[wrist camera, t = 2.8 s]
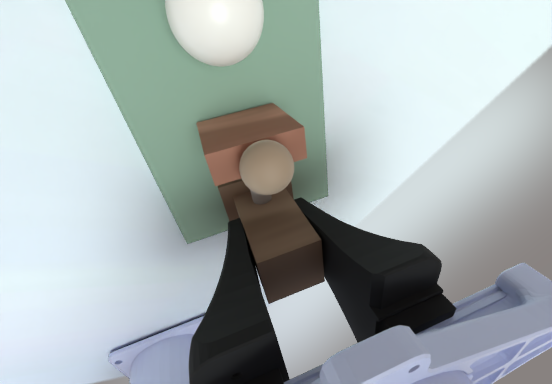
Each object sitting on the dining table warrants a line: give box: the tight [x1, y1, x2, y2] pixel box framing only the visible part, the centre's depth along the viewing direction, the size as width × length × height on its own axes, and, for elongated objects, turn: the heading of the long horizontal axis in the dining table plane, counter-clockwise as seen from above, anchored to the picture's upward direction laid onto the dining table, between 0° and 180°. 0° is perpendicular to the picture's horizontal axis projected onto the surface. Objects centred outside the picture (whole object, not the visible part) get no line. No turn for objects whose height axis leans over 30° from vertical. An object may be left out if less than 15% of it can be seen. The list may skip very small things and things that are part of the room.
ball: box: [165, 0, 264, 67], centre depth 10 cm, size 4×4×4 cm
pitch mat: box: [65, 0, 328, 244], centre depth 12 cm, size 19×10×1 cm, turn 9°
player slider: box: [196, 103, 325, 304], centre depth 13 cm, size 8×4×6 cm, turn 10°
